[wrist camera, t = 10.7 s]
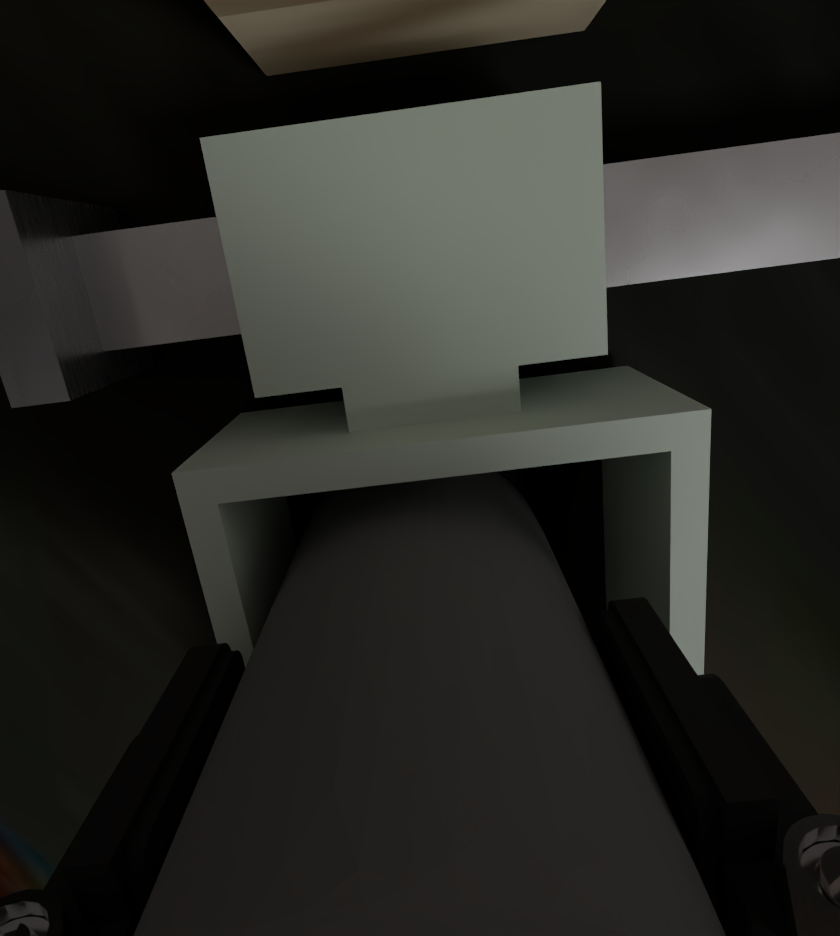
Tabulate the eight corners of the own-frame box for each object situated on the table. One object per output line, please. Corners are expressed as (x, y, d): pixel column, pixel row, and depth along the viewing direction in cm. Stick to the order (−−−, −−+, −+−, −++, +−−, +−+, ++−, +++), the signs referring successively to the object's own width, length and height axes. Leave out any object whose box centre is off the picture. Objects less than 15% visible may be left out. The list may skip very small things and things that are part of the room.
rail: (111, 371, 13) (11, 407, 10) (67, 214, 12) (-61, 199, 9) (1258, 226, 13) (1560, 215, 9) (1311, 44, 12) (1671, -42, 8)
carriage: (310, 723, 16) (276, 865, 12) (187, 173, 12) (80, 133, 8) (632, 690, 16) (699, 825, 12) (623, 112, 12) (721, 42, 8)
